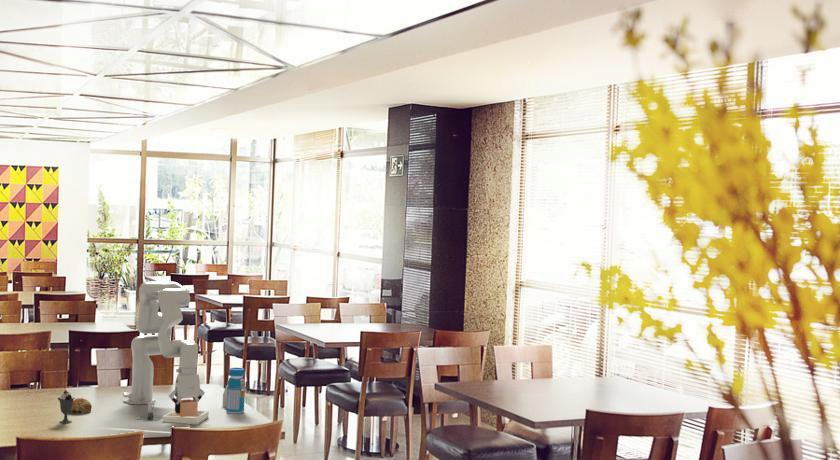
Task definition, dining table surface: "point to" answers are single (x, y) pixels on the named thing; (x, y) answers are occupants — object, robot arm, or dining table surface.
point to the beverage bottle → (235, 391)
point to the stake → (150, 414)
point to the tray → (186, 418)
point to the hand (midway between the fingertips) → (186, 411)
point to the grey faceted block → (225, 397)
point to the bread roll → (80, 406)
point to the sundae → (66, 405)
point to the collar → (188, 408)
